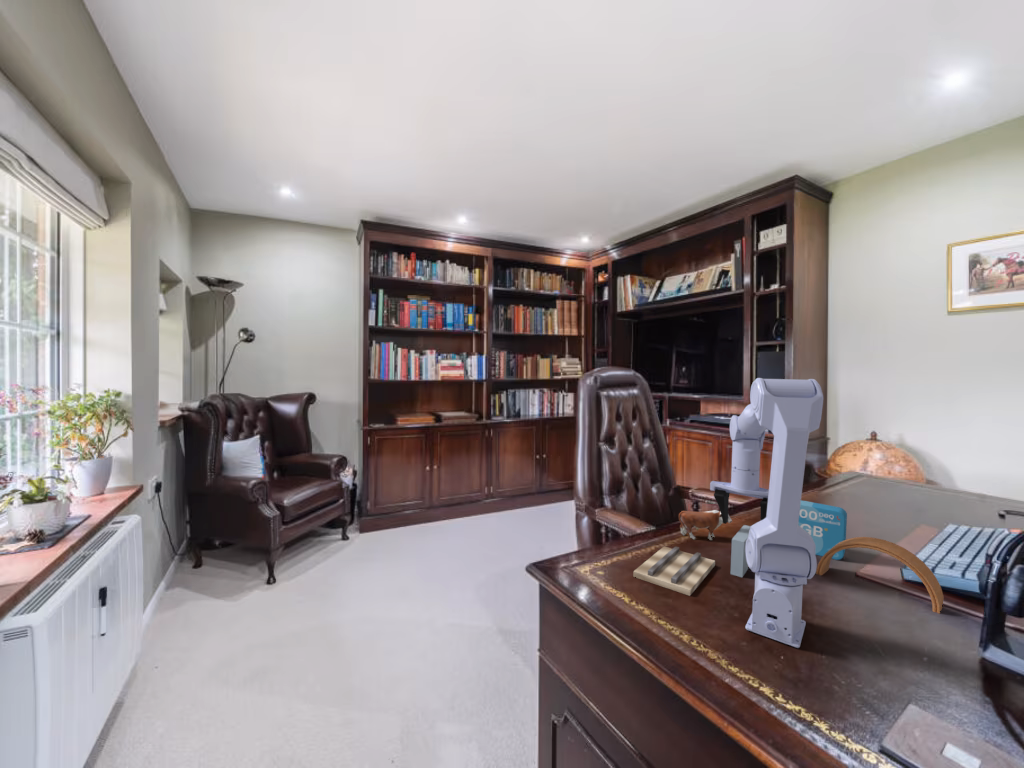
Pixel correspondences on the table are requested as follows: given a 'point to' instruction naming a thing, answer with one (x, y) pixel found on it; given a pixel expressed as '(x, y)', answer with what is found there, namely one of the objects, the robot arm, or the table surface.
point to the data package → (824, 526)
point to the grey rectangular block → (739, 552)
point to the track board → (675, 570)
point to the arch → (897, 553)
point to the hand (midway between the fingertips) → (743, 526)
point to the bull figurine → (700, 521)
